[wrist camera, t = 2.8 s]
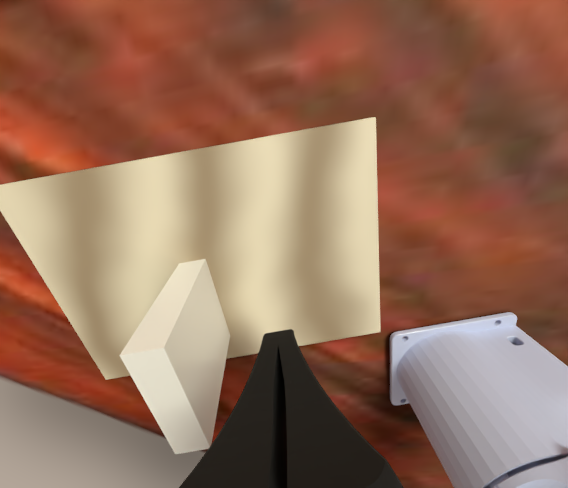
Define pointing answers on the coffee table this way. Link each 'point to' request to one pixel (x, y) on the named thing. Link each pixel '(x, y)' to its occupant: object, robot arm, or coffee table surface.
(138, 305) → the board
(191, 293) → the tile
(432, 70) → the coffee table surface
